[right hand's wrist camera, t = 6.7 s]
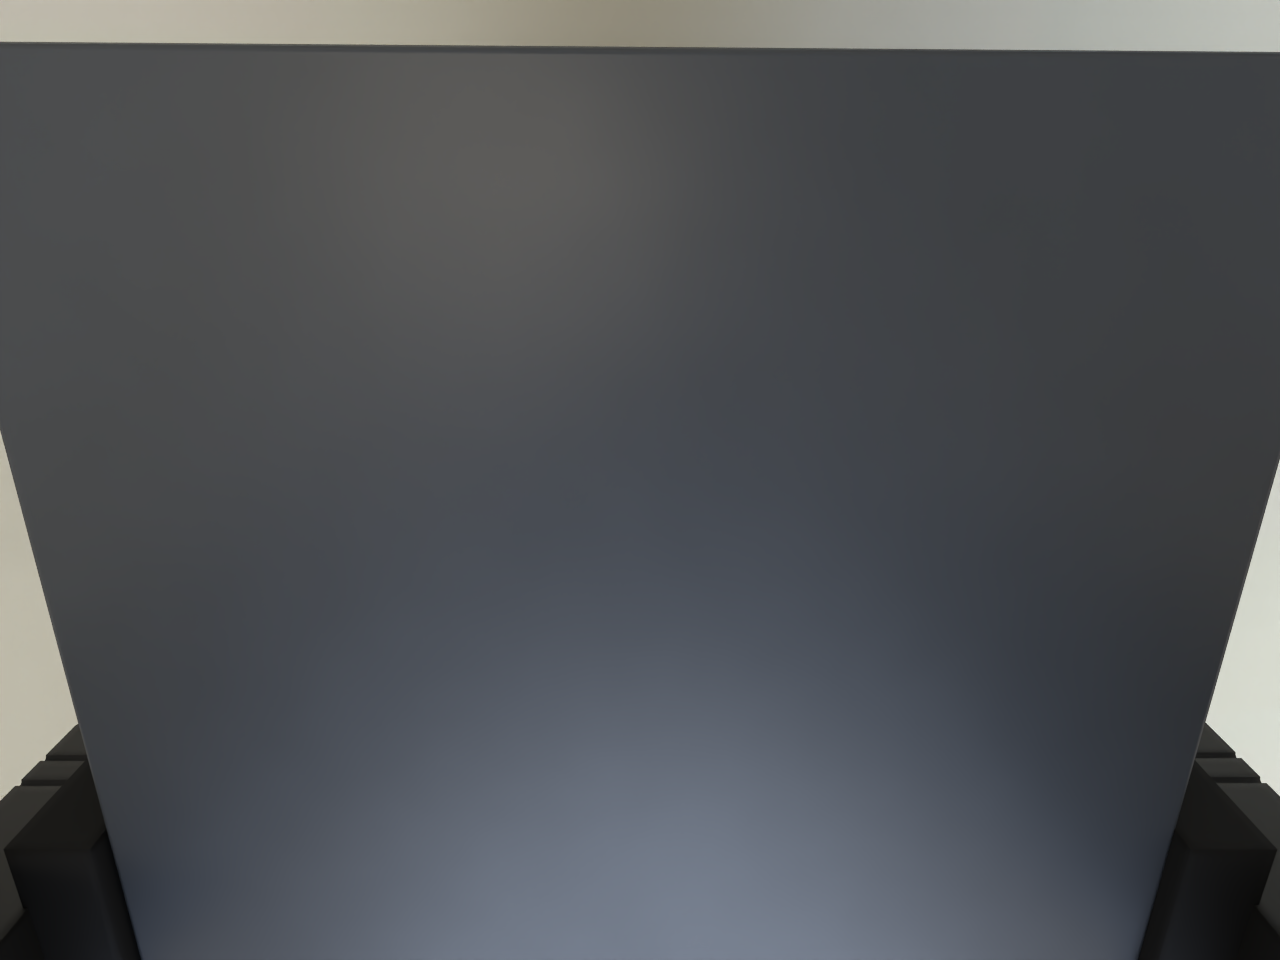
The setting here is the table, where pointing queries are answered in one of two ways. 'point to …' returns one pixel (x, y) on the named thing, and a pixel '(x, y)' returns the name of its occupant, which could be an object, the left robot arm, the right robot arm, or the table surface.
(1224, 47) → the table surface
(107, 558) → the wide beam
